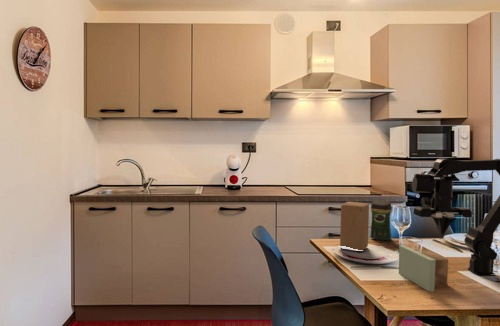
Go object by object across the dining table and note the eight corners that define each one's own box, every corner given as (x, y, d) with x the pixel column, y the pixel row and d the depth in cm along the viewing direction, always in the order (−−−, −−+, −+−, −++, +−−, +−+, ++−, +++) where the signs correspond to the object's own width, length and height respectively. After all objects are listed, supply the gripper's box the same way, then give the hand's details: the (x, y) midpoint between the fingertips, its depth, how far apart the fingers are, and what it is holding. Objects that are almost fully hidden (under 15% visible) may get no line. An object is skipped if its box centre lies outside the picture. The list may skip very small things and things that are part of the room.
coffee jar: (391, 238, 174) (393, 200, 173) (389, 242, 167) (391, 203, 166) (371, 235, 179) (372, 199, 178) (368, 239, 172) (369, 201, 171)
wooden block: (362, 253, 149) (363, 206, 148) (339, 249, 154) (340, 204, 153) (368, 247, 157) (369, 203, 156) (346, 244, 163) (347, 201, 162)
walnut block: (430, 275, 125) (431, 252, 124) (447, 284, 117) (448, 259, 116) (410, 277, 123) (411, 253, 123) (425, 286, 115) (426, 260, 115)
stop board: (403, 272, 127) (404, 245, 126) (434, 291, 111) (435, 259, 111) (398, 273, 127) (399, 245, 126) (428, 291, 111) (429, 260, 110)
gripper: (455, 190, 136) (454, 230, 137) (407, 189, 136) (406, 229, 137) (474, 194, 125) (472, 237, 126) (421, 193, 125) (420, 237, 126)
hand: (441, 235), depth 129 cm, fingers closed
